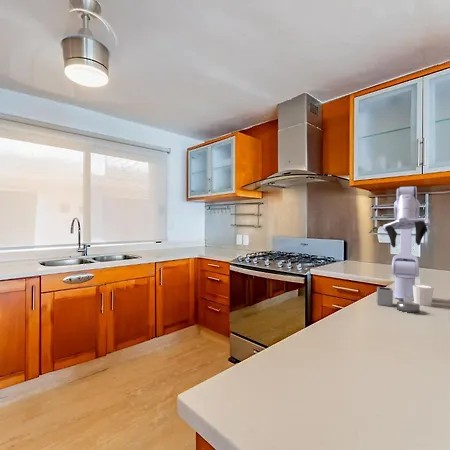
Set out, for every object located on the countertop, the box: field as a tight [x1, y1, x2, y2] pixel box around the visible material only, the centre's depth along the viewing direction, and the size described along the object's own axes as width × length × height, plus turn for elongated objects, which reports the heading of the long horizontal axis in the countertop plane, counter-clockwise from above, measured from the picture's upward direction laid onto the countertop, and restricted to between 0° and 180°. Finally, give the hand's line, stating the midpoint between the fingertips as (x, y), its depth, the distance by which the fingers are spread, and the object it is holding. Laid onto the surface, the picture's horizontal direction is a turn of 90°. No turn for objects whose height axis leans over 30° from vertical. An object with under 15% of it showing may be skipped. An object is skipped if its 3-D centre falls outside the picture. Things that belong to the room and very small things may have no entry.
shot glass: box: [413, 284, 434, 307], centre depth 116 cm, size 7×7×7 cm
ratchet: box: [396, 296, 421, 314], centre depth 110 cm, size 14×7×5 cm, turn 157°
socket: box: [376, 286, 394, 307], centre depth 115 cm, size 5×5×6 cm
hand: (405, 244), depth 102 cm, fingers open, 7 cm apart
